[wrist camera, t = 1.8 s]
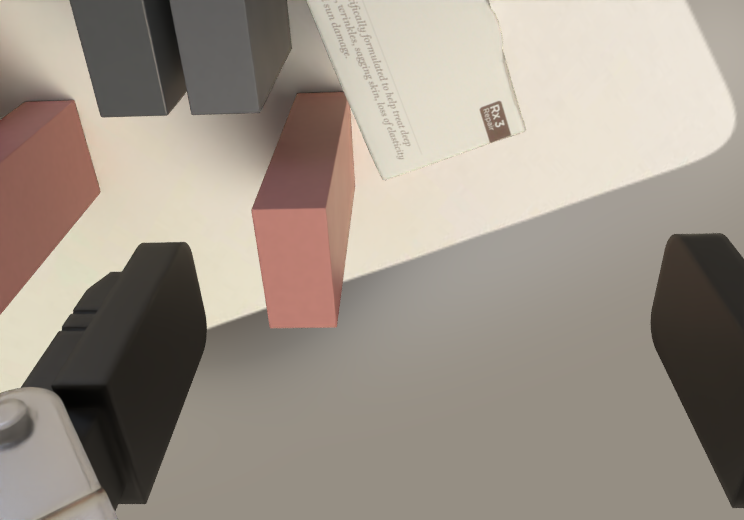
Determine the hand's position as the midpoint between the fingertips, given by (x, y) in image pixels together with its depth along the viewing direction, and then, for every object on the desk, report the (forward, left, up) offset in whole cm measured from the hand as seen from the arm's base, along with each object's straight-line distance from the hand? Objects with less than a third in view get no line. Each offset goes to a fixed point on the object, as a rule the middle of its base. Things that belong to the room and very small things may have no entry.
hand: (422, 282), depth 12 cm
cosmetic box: (0, 0, -28) cm, 28 cm away
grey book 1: (0, -12, -28) cm, 31 cm away
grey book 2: (0, -8, -28) cm, 29 cm away
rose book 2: (+9, -5, -28) cm, 30 cm away
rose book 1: (+9, -21, -28) cm, 36 cm away
